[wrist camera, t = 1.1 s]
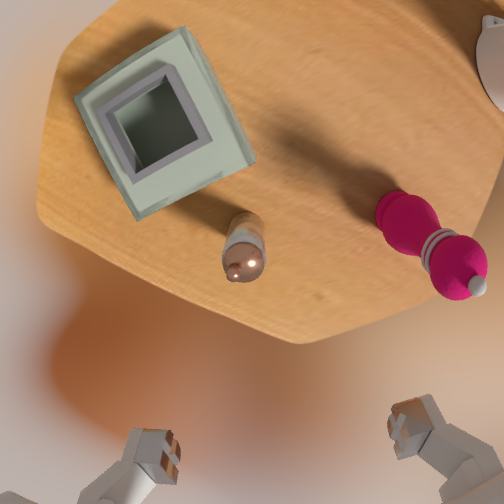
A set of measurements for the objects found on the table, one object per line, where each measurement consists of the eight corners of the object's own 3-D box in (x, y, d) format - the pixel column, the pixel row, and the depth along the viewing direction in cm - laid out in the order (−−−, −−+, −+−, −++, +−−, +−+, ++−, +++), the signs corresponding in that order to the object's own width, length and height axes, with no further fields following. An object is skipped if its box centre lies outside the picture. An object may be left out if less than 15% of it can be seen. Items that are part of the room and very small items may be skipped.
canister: (255, 206, 38) (254, 243, 27) (269, 236, 40) (274, 282, 29) (223, 220, 39) (210, 261, 28) (238, 249, 40) (232, 299, 30)
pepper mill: (361, 222, 38) (433, 310, 20) (390, 176, 36) (487, 234, 18) (399, 246, 40) (475, 336, 22) (427, 204, 37) (521, 273, 19)
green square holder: (198, 40, 29) (180, 19, 21) (256, 154, 35) (255, 166, 27) (101, 98, 32) (63, 97, 24) (156, 203, 38) (130, 228, 30)
